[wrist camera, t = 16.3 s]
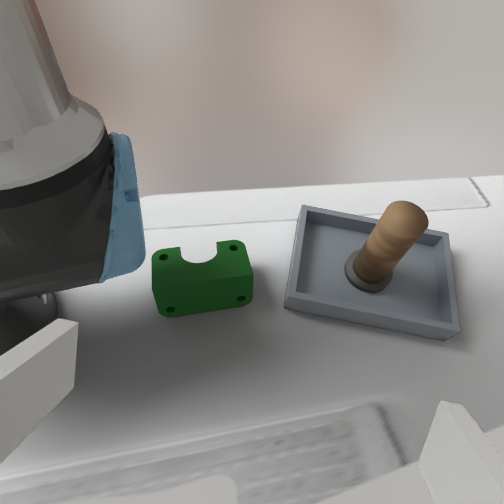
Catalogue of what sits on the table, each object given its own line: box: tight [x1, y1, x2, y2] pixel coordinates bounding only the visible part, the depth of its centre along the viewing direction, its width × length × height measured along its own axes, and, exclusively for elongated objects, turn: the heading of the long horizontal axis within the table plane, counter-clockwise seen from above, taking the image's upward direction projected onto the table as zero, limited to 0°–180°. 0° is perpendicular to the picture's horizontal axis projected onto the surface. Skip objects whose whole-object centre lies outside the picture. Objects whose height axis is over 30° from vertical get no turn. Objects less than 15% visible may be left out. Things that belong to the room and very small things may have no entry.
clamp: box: [152, 240, 253, 317], centre depth 43 cm, size 12×6×9 cm, turn 95°
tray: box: [284, 205, 460, 341], centre depth 46 cm, size 20×14×4 cm
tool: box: [344, 201, 428, 293], centre depth 42 cm, size 6×6×12 cm
